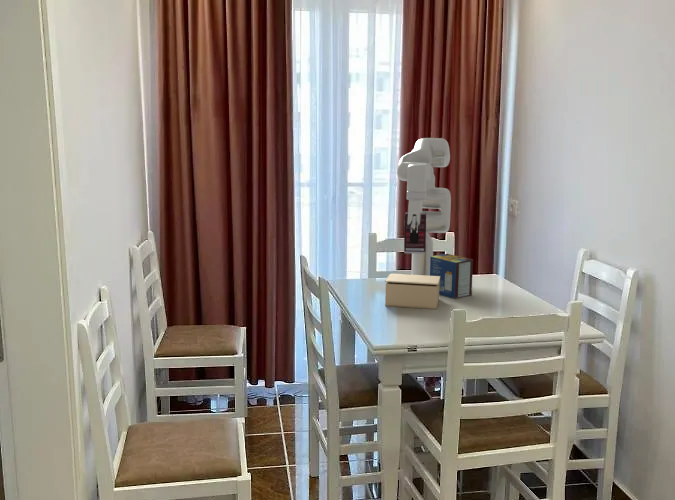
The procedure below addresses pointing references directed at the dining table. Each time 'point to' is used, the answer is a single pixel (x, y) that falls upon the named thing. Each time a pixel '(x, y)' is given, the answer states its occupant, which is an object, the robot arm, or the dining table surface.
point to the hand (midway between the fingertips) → (414, 241)
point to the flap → (413, 279)
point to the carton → (412, 295)
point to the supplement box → (421, 245)
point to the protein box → (452, 274)
